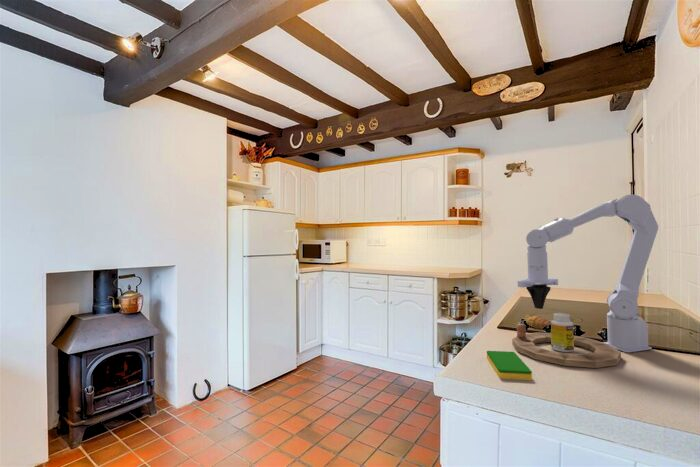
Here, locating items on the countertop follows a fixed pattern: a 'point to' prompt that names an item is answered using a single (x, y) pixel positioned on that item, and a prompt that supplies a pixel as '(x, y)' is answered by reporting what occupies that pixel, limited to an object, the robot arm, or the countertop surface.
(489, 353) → the dish sponge
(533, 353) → the faceted tan ring
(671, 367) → the countertop surface
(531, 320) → the pastry
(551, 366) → the countertop surface
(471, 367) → the countertop surface
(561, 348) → the supplement bottle
